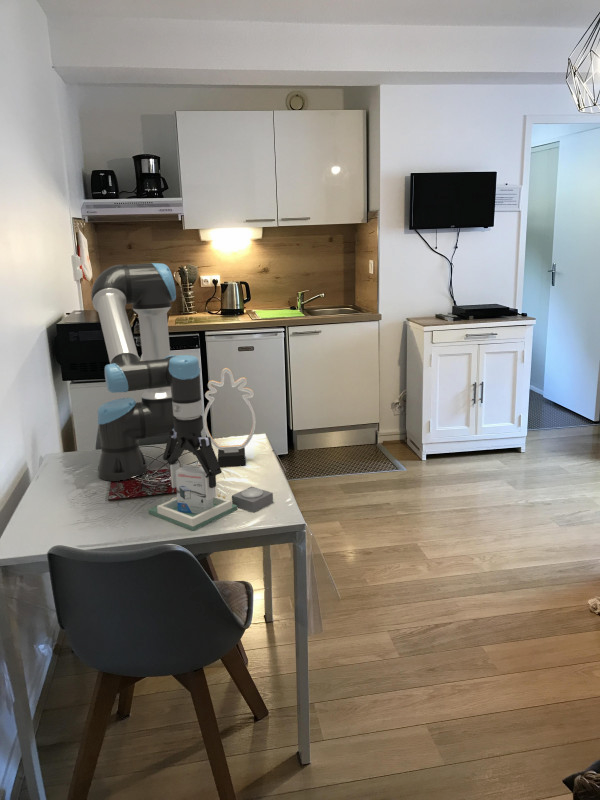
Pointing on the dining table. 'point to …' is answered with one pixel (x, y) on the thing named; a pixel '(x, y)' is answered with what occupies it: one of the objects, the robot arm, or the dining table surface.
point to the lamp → (234, 453)
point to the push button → (252, 499)
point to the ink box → (192, 490)
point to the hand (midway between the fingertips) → (193, 492)
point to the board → (193, 520)
